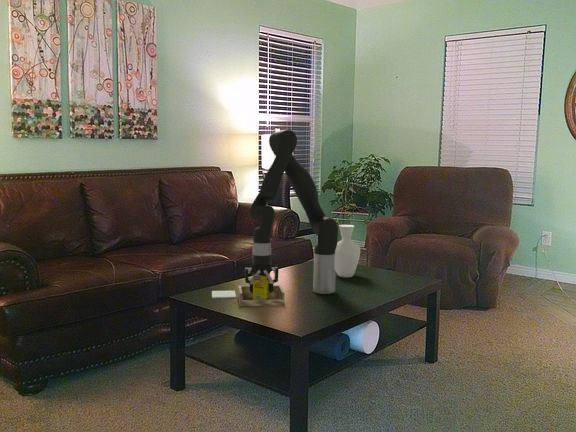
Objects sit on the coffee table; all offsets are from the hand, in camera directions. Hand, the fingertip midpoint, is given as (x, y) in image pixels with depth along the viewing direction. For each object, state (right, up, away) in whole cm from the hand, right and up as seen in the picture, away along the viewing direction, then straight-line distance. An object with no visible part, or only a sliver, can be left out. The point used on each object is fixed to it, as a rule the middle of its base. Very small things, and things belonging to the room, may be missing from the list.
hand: (261, 292), depth 234 cm
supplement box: (0, -4, 0) cm, 4 cm away
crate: (0, -4, +1) cm, 4 cm away
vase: (+39, +2, +50) cm, 63 cm away
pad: (-17, -2, +9) cm, 19 cm away
